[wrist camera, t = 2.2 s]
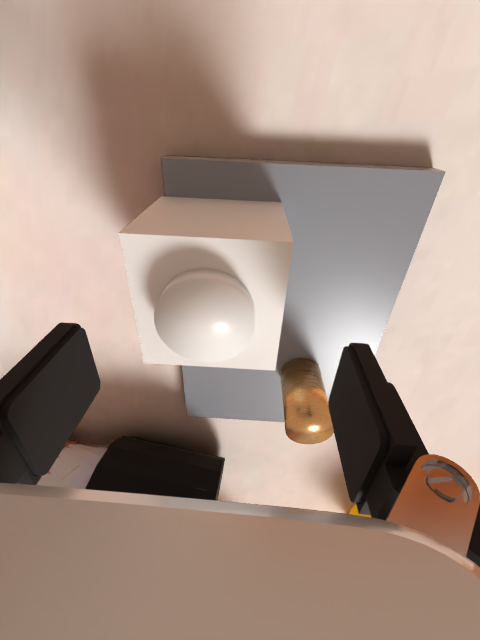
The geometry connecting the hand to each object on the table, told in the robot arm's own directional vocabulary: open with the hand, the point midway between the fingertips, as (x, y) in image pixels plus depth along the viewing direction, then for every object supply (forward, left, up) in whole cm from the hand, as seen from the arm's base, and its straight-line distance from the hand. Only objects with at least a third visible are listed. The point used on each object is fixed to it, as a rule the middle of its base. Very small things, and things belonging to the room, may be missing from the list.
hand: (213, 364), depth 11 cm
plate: (+4, +3, -10) cm, 11 cm away
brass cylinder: (+8, +5, -9) cm, 13 cm away
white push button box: (-1, -1, -9) cm, 9 cm away
